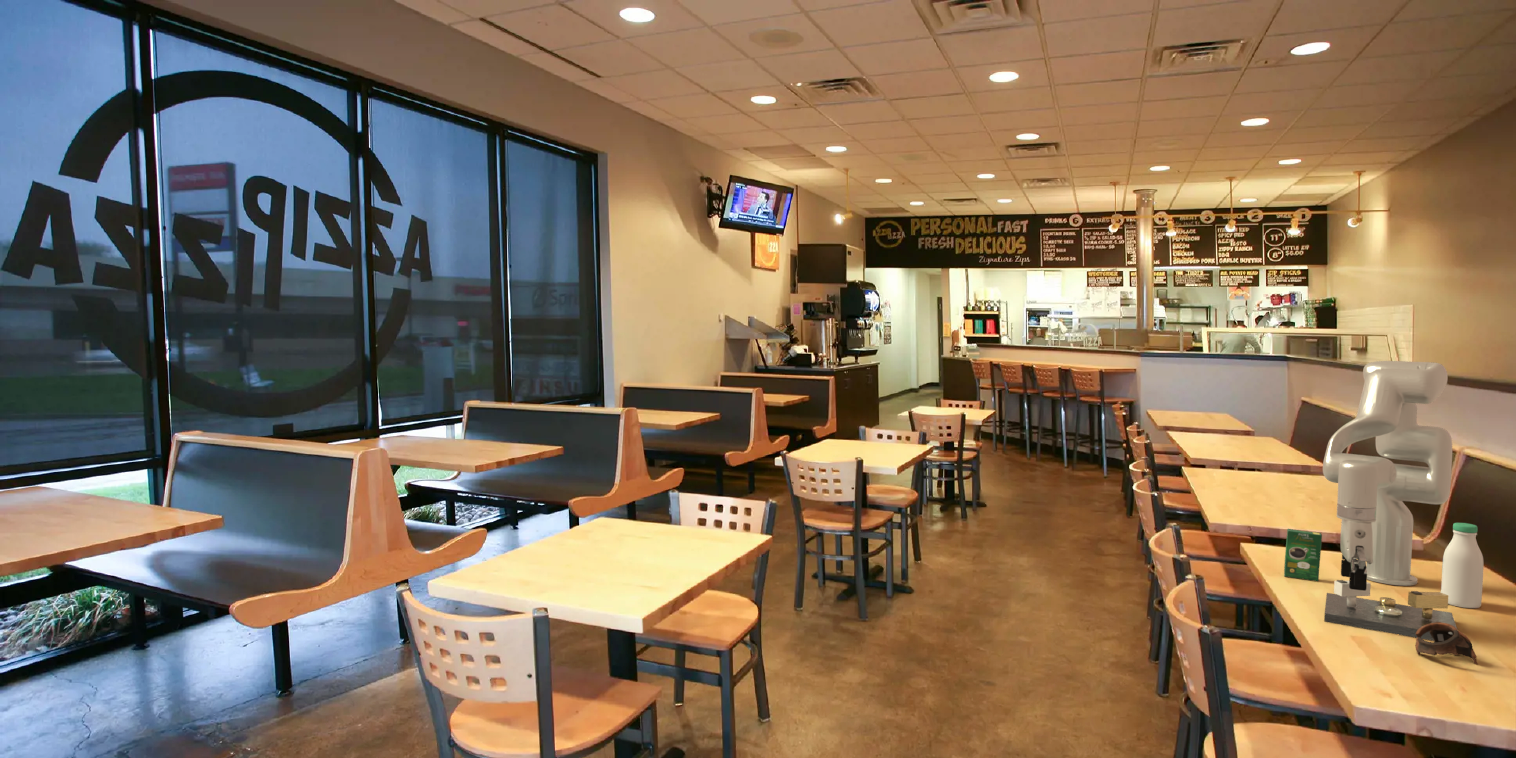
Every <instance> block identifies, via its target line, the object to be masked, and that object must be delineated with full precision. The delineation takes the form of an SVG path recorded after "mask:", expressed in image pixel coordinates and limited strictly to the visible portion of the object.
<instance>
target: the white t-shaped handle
mask: <svg viewBox="0 0 1516 758" xmlns="http://www.w3.org/2000/svg"><path fill="white" fill-rule="evenodd" d="M1371 584H1372V583H1371V582H1369V581H1367V586H1366V590H1365V591H1363V590H1354V589H1350V588H1349V580H1343V579H1337V580H1334V587H1333V594H1337V595H1340V596H1347V606H1351V607H1356V597H1370V596H1371V586H1372V585H1371Z"/></svg>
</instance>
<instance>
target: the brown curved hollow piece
mask: <svg viewBox="0 0 1516 758" xmlns="http://www.w3.org/2000/svg"><path fill="white" fill-rule="evenodd" d="M1429 631H1430V634H1431V637H1432V638H1433V640H1434V641H1433V642H1431V641H1429V640H1426V639H1422V638H1421V636H1422V635H1423V634H1425V633H1426V632H1429ZM1449 632H1452V634H1449ZM1416 635H1417V638H1416V641H1415V645H1414V646H1415V651H1416V654H1417V655H1418V656H1421V655H1422V654H1427V655H1432V656H1437V655H1439V656H1440V655H1441V656H1443V655H1454V656H1463V657H1468V658H1470V659H1471V660H1472V661H1473V664H1474V665H1478V663H1477V655H1476V652H1475V650H1474V648H1473V643H1472V641H1471V639H1470V638H1469V637H1468V636H1467V635H1466V634H1465V633H1463V632H1462V631H1460V630H1458V628H1457V629H1456V628H1455V627H1454V626H1452V625H1450V624H1447V623H1441V622H1433V623H1430V624H1427V625H1424V626H1422V627H1421V628H1419V629H1418V630H1417V632H1416Z"/></svg>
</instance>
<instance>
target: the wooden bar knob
mask: <svg viewBox="0 0 1516 758" xmlns="http://www.w3.org/2000/svg"><path fill="white" fill-rule="evenodd" d="M1407 606H1412V607H1415V608H1422V618H1424V619H1432V612H1433V610H1434V609H1446V610H1448V609H1449V604H1448V595H1446V594H1443V593H1441V591H1417V590H1411V591H1408V595H1407Z"/></svg>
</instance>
